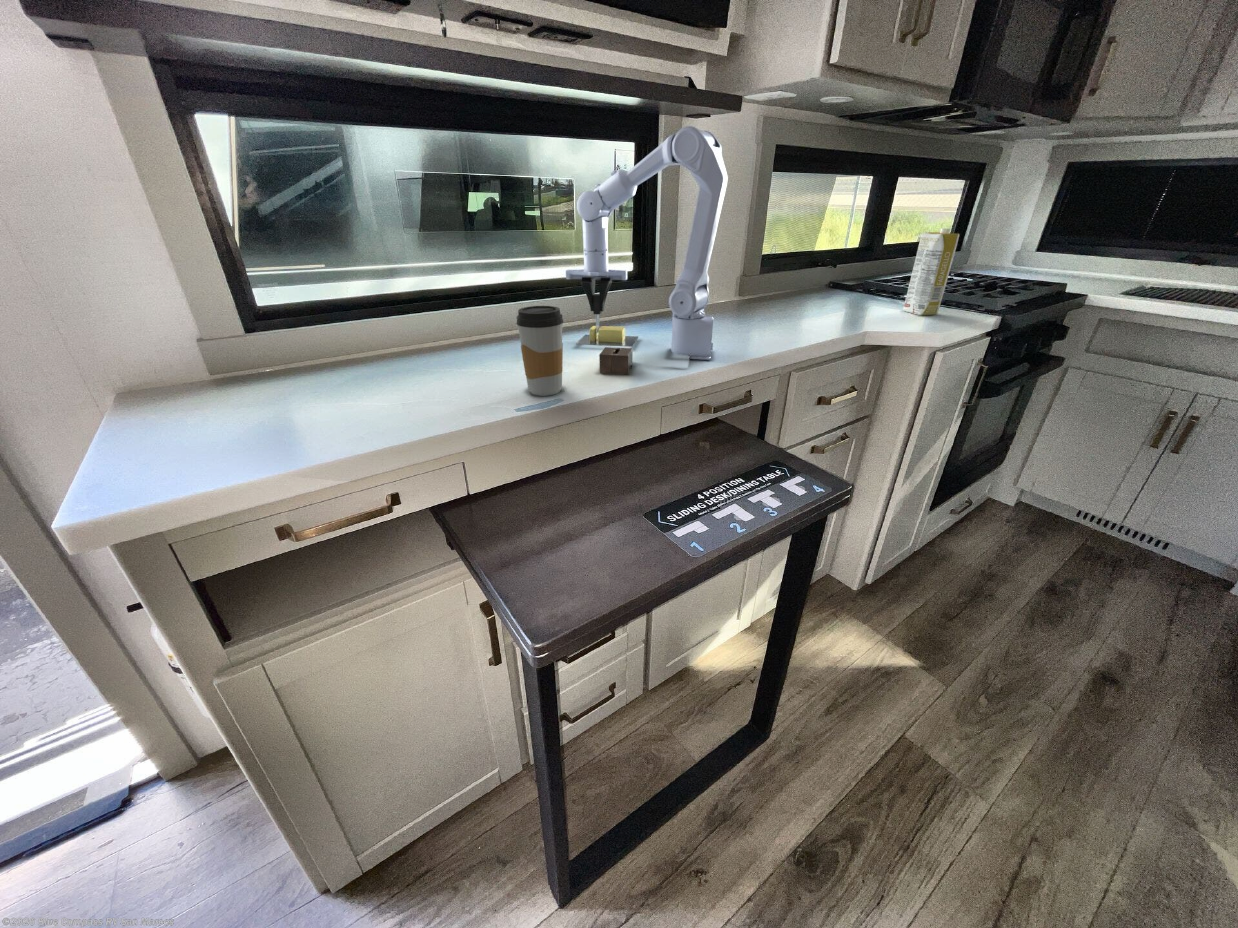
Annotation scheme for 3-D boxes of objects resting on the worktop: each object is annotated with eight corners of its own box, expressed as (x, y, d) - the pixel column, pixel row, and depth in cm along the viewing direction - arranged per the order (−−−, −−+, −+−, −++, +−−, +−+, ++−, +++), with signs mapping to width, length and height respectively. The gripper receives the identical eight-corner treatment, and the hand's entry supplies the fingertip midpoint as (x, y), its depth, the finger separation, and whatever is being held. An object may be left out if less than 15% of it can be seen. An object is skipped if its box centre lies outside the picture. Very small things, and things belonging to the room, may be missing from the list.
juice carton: (942, 315, 155) (966, 229, 144) (919, 316, 154) (942, 229, 142) (919, 309, 163) (941, 227, 152) (898, 310, 162) (918, 228, 150)
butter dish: (638, 340, 130) (638, 336, 130) (632, 350, 121) (632, 346, 121) (585, 338, 132) (585, 334, 132) (575, 348, 123) (575, 344, 123)
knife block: (632, 366, 110) (632, 348, 108) (628, 374, 104) (628, 355, 103) (605, 365, 111) (605, 347, 109) (599, 373, 105) (599, 354, 103)
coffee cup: (576, 390, 96) (572, 309, 89) (539, 401, 91) (531, 316, 84) (551, 380, 101) (545, 303, 94) (514, 390, 97) (506, 309, 90)
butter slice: (597, 337, 128) (597, 326, 127) (594, 341, 125) (594, 329, 124) (593, 337, 129) (592, 325, 127) (589, 341, 125) (589, 329, 124)
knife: (602, 330, 127) (601, 293, 123) (599, 333, 124) (598, 295, 120) (596, 330, 127) (595, 293, 123) (593, 333, 125) (592, 295, 120)
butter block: (625, 338, 127) (625, 326, 126) (622, 342, 124) (622, 330, 123) (601, 338, 128) (601, 326, 127) (598, 341, 125) (598, 329, 123)
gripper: (560, 251, 115) (564, 313, 121) (623, 252, 112) (623, 314, 119) (569, 249, 121) (571, 307, 127) (628, 249, 119) (628, 309, 125)
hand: (597, 310), depth 123 cm, fingers closed on knife, 1 cm apart
